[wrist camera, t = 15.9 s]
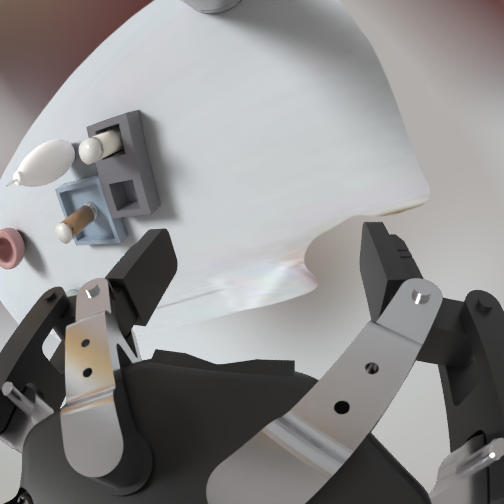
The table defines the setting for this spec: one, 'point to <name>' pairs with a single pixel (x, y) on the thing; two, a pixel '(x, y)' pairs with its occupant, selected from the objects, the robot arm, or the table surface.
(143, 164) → the block
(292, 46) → the table surface
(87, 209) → the cylinder
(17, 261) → the mortar and pestle
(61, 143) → the sauce bottle
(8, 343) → the robot arm
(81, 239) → the parts tray
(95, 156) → the cylinder
